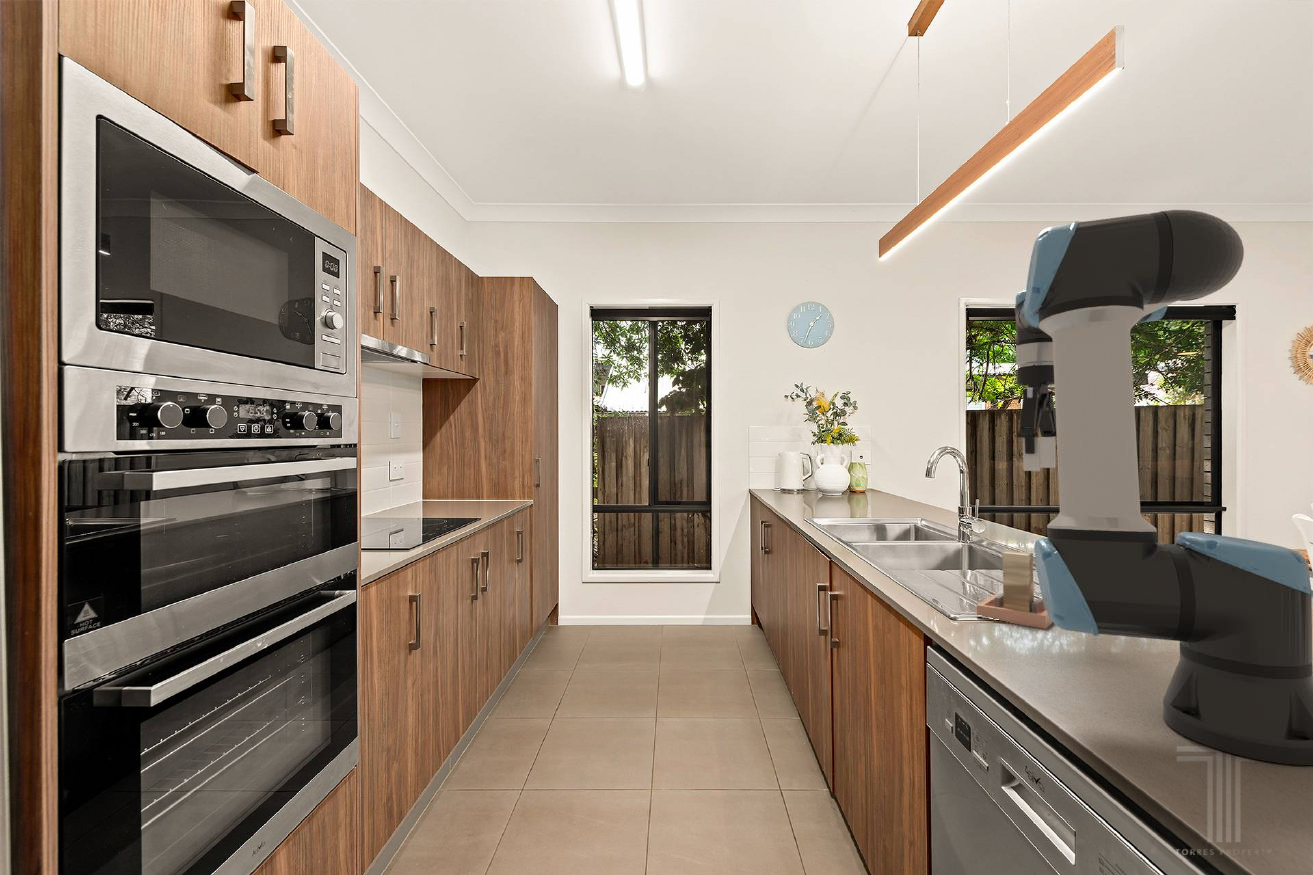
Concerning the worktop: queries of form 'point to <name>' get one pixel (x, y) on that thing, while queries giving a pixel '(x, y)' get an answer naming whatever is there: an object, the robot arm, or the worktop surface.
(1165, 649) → the worktop surface
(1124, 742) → the worktop surface
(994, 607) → the candle dish
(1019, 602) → the tan wooden block
